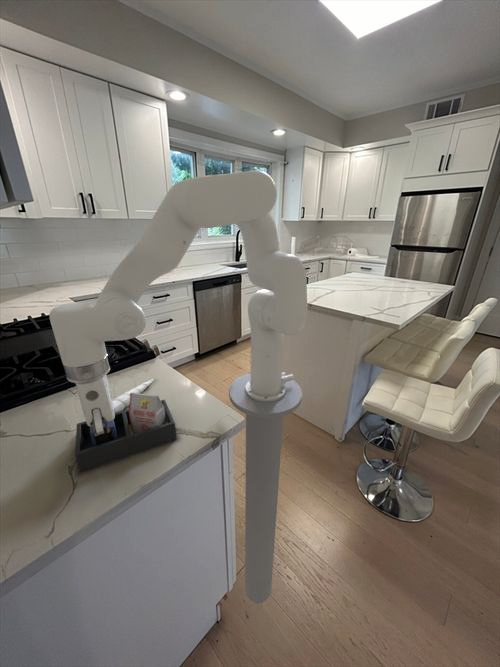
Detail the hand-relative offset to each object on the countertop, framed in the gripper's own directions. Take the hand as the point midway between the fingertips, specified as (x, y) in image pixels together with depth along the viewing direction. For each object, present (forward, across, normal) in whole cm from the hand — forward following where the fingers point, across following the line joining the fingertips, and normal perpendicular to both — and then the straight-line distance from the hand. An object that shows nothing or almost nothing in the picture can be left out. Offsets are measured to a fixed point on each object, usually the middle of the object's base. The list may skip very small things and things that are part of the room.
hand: (105, 438), depth 61 cm
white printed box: (+2, 0, -9) cm, 9 cm away
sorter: (+2, 0, -4) cm, 5 cm away
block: (0, 0, 0) cm, 0 cm away
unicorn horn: (+3, +14, -5) cm, 15 cm away
